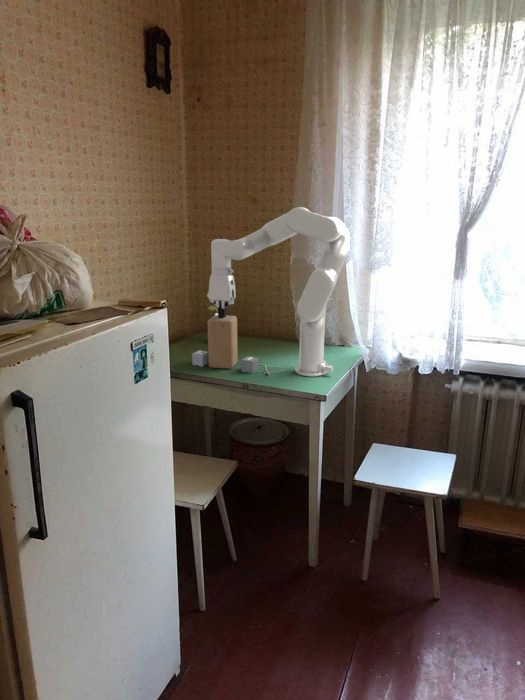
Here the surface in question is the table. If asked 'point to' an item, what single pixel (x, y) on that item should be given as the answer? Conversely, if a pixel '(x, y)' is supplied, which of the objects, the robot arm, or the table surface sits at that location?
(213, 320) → the wooden block
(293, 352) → the table surface
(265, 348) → the table surface
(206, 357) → the slate block marked 7
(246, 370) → the charcoal block marked 1
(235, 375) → the table surface
